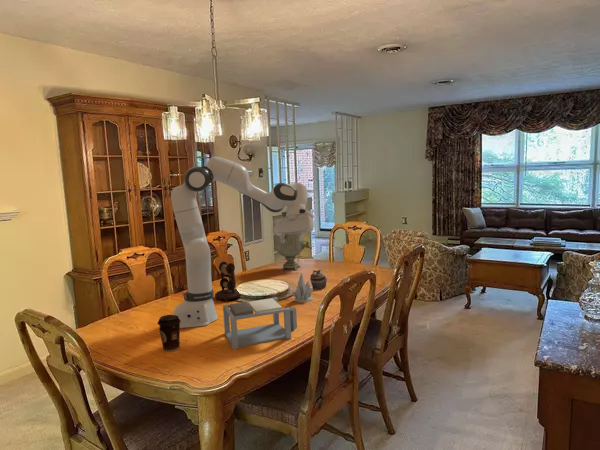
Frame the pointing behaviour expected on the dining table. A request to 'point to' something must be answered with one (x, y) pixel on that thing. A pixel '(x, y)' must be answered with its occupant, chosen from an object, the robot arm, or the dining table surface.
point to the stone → (293, 318)
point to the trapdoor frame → (256, 328)
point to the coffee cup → (170, 332)
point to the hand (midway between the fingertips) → (291, 241)
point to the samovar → (290, 247)
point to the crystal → (303, 291)
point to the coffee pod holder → (227, 282)
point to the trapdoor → (254, 307)
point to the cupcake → (318, 280)
